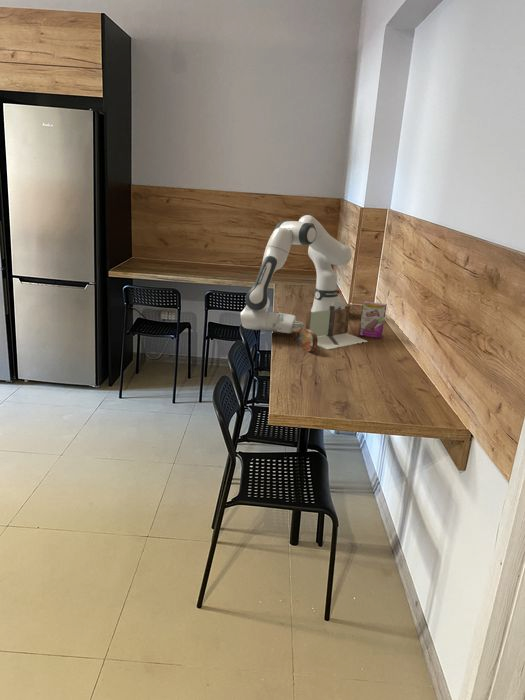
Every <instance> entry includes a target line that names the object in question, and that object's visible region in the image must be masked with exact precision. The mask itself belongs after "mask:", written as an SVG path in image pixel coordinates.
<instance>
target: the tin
mask: <svg viewBox="0 0 525 700" xmlns="http://www.w3.org/2000/svg"><path fill="white" fill-rule="evenodd" d="M297 342H298V345H299V346H300V347H301V348H302V349H303V350H305V351H306V352H309V353H310V352H315V351H316V350H317V347H318V346H317V342H318V339H317V335H316V334H315V333H314V332H312V331H310V330H309V329H307V328H305V327H303V328H300V329H299V330H298V333H297Z"/></svg>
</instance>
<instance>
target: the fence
mask: <svg viewBox="0 0 525 700" xmlns="http://www.w3.org/2000/svg"><path fill="white" fill-rule="evenodd" d="M329 310H330V319H329V329H328V336H332V335H336V334H342V333H347V334H348V330H349V329H348V328H349V321H350V311H351V306H350V305H346V306H345V309H338V310H335V306H330V309H329Z"/></svg>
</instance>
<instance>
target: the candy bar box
mask: <svg viewBox="0 0 525 700" xmlns="http://www.w3.org/2000/svg"><path fill="white" fill-rule="evenodd" d="M387 305H388V304H387V303H382V302H381V303H380V302H374V301H367V300H363V303H362V307H361V314H360V322H359V328H358V336H359V335H361V337H366V336H368V338H373V337H374V339H380V338H381V339H382V338H383V332H384V325H385V319H386V313H387V312H386V311H387V308H388V307H387Z"/></svg>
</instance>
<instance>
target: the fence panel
mask: <svg viewBox="0 0 525 700" xmlns="http://www.w3.org/2000/svg"><path fill="white" fill-rule="evenodd" d="M329 319H330V310H323V311H315V312H311V310H310V311H309V310H308V311H306V317H305V326H304V328H307V329H309V330H310V331H312V332H314V333H315V334H316V335H317V337H319V336H324V335H328V329H329Z"/></svg>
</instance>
